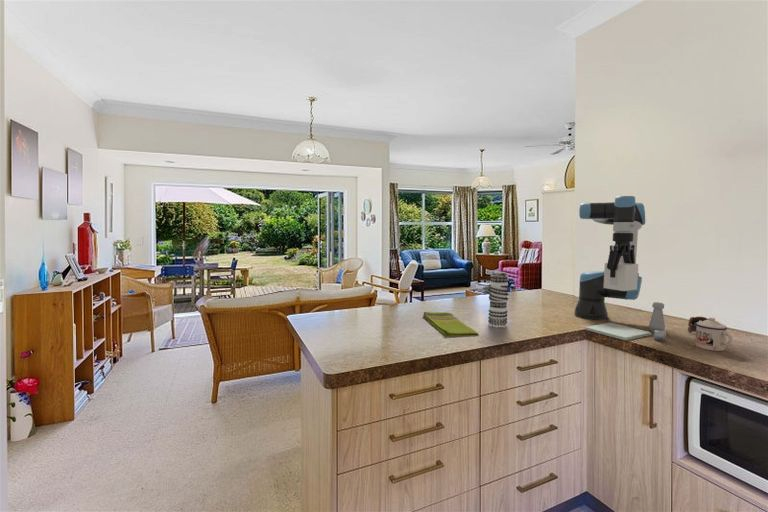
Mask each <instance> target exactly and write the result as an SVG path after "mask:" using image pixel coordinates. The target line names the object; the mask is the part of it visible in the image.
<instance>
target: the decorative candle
mask: <svg viewBox="0 0 768 512" xmlns="http://www.w3.org/2000/svg"><path fill="white" fill-rule="evenodd" d="M508 279H509V275H508V274H507V273H506V272H504V271H492V272H491V274H490V281H489V285H488V291H489V292H488V301H489V309H488V312H489V313H488V317H487V319H488V321H487V322H488V326H490V327H492V326H493V327H492V328H498V327H503V328H507V327H508V307H507V306H508V305H507V303H508V302H509V297H508V296H509V289H508V288H510V285H509V283H508ZM506 326H507V327H506Z"/></svg>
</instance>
